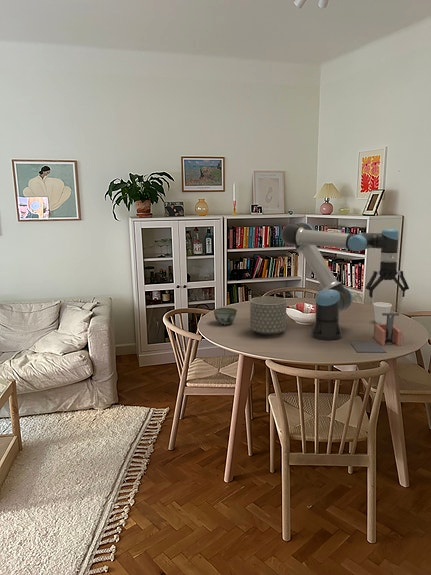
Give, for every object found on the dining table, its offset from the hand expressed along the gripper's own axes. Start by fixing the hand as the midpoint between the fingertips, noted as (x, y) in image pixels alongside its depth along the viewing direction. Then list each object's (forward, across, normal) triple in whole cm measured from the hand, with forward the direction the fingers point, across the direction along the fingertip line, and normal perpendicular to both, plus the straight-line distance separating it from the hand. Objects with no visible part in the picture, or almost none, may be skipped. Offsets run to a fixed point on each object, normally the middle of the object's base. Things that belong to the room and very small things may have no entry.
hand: (386, 303), depth 209 cm
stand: (+18, 0, -8) cm, 20 cm away
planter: (+18, -58, +8) cm, 61 cm away
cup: (+18, +7, +28) cm, 34 cm away
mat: (+18, -12, -15) cm, 26 cm away
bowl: (+18, -82, +26) cm, 88 cm away
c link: (+18, 0, -4) cm, 19 cm away
